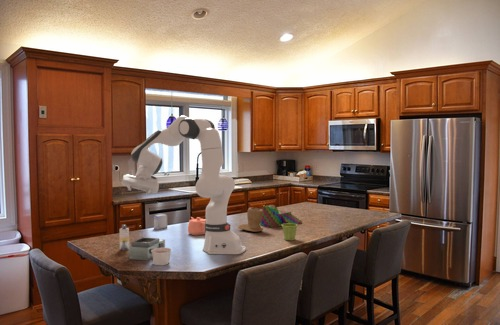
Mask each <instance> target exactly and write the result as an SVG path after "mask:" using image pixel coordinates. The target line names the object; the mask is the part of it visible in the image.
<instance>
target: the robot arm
mask: <svg viewBox="0 0 500 325" xmlns="http://www.w3.org/2000/svg"><path fill="white" fill-rule="evenodd" d="M186 138H187V139H190V140H198V141H199V143H200V153H201V164H202V167H201V172H200V176H199V179H197V181H196V183H195V192H196V194H197V195H198V196H199V197H201V198H205V199H206V198H207V199H209V198H210V200H209V202H208V204H207V205H206V207H205V219H206V223H205V235H204V237H205V238H204V242H203V243H204V244H203V247H202V251H203V252H205V253H206V254H209V255H240V254H243V253H244V252H245V251H247V247H246V246H245V245H242V240H241V237H240V236H239V235H238V234H237V233H235V232H234V231H232V230H231V226H232V224H231V223H229V222H228V218H227V217H228V216H227V215H228V214H227V213H228V210H227V209H228V204H229V200H230V196H231V195H232V192H233V191H234V190H235V187H236V186H235V185H236V183H235V180H234V178H233V177H232V176H230V175H226V174H220V172H221V169H222V166H223V165H224V162H225V161H224V153H223V146H222V141H221V140H222V139H221V137H220V133H219V131H218V130H217V129H216V127H215V124H214V123H213V122H212V121H211V120H208V119H202V118H198V117H192V118H191V117H188V116H187V115H179V116H178V117H177V118H175V119H174V121H172V123H171V124H169V126H168V127H167V128H165V129H158V130H157V131H155V132H154V133H152V134H150V135H149V137H147V138H146V139H145V140H144V141H142V142H141V143H140V144H138V145H137V146H136V147H134V148H133V149H132V151H131V153H130V157H131V160H132V161H133V162H135V163H137V164H139V165H138V168H137V170H136V173H135V175H131V174H124V175H123V177H122V179H121V182H120V183H121V185H122V186H123V187H126V188H127V191H130V192H131V191H132V189H135V190H139V191H142V192H143V191H144V192H145V196H149V194H154V195H156V194H158V193H159V187H160V184H159V178H158V177H155V175H156V174H158V173H159V171H160V170H161V169H162V166H163V158H162V157H161V156H160V155H159V154H156V153H154V152H152V151H151V150H149V148H150V147H152V146H153V145H154V144H161V145H165V146H168V147H177V146H179V145H180V144H181V143H182V142H184V140H186Z"/></svg>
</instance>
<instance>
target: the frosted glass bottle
mask: <svg viewBox="0 0 500 325" xmlns="http://www.w3.org/2000/svg"><path fill="white" fill-rule="evenodd" d="M129 247H130V228H129V227H127V224H121V228H119V251H129Z"/></svg>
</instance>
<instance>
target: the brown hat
mask: <svg viewBox="0 0 500 325" xmlns="http://www.w3.org/2000/svg"><path fill="white" fill-rule="evenodd" d="M246 213H247V215H246V216H247V224H240V225H238V227H237V228H238V229H240V230H244V231H247V232H255V233H257V232H261V231H263V230H264V229H263V228H262V227H261V225H260V222H261V220H262V217H263V210H262V209H261V208H258V207H248V209H247V212H246Z"/></svg>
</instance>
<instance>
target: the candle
mask: <svg viewBox="0 0 500 325" xmlns="http://www.w3.org/2000/svg"><path fill="white" fill-rule="evenodd" d="M151 252H152V257H153V258H152V261H153V264H154V265H155V266H165V265H168V264H169V263H170V261H171V260H170V259H171V253H172V249H171V248H170V247H165V248H155V249H153V250H151Z"/></svg>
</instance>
